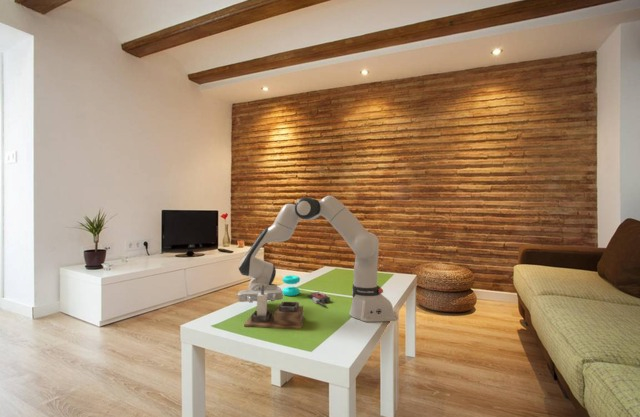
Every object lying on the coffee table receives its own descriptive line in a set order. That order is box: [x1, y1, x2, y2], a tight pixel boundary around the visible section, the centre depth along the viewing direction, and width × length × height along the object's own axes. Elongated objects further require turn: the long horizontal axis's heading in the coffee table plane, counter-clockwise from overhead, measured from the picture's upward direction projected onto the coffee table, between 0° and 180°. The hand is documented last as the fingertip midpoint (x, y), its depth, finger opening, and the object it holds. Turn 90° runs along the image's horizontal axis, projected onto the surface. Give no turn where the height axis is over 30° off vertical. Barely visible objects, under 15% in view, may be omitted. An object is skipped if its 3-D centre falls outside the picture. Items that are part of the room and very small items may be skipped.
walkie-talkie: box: [308, 291, 331, 307], centre depth 170 cm, size 9×4×20 cm
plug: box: [256, 285, 268, 316], centre depth 140 cm, size 4×5×15 cm
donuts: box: [282, 275, 301, 297], centre depth 184 cm, size 10×10×10 cm
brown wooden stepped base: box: [243, 301, 305, 330], centre depth 140 cm, size 24×13×8 cm, turn 86°
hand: (262, 300), depth 140 cm, fingers open, 8 cm apart
